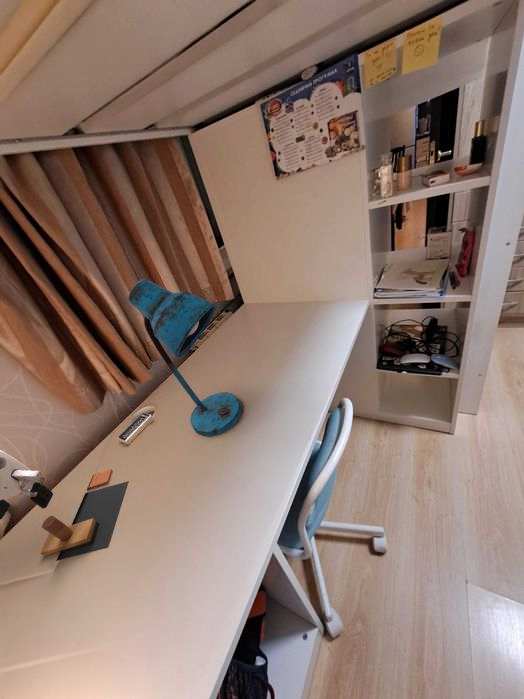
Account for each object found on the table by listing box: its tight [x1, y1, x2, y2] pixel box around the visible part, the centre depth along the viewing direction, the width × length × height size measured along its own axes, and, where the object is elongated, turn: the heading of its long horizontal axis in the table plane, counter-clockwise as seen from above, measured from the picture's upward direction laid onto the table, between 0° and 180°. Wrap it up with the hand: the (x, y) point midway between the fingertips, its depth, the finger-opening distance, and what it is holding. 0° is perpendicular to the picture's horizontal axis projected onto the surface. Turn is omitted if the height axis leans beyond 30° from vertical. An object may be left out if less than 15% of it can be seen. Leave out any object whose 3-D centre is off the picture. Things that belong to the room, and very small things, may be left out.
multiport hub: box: [117, 412, 155, 446], centre depth 93 cm, size 4×11×2 cm, turn 149°
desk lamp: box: [127, 278, 243, 437], centre depth 76 cm, size 16×22×45 cm
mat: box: [55, 480, 130, 562], centre depth 71 cm, size 20×16×1 cm
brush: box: [39, 515, 99, 557], centre depth 65 cm, size 11×4×9 cm, turn 99°
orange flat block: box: [86, 473, 98, 492], centre depth 80 cm, size 4×4×1 cm
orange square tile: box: [93, 468, 114, 489], centre depth 80 cm, size 4×4×1 cm
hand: (26, 506), depth 59 cm, fingers open, 9 cm apart
